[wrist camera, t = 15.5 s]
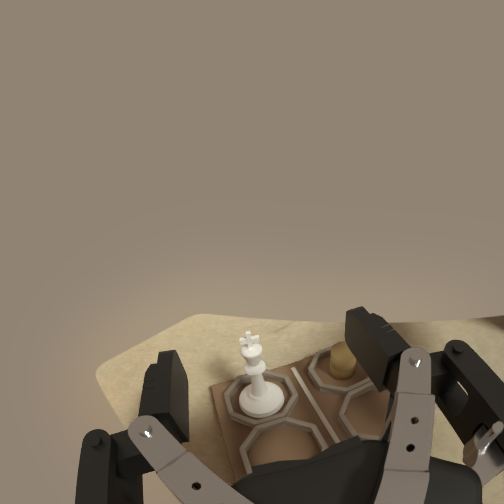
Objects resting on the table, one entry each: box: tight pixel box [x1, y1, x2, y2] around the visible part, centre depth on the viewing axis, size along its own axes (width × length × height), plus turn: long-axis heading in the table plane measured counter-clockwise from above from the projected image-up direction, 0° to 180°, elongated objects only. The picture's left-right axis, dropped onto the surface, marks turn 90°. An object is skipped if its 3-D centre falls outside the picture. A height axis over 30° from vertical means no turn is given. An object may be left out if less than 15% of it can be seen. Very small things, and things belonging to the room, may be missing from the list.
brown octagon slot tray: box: [211, 342, 390, 481], centre depth 24 cm, size 20×16×5 cm
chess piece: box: [239, 331, 284, 418], centre depth 25 cm, size 5×5×10 cm
